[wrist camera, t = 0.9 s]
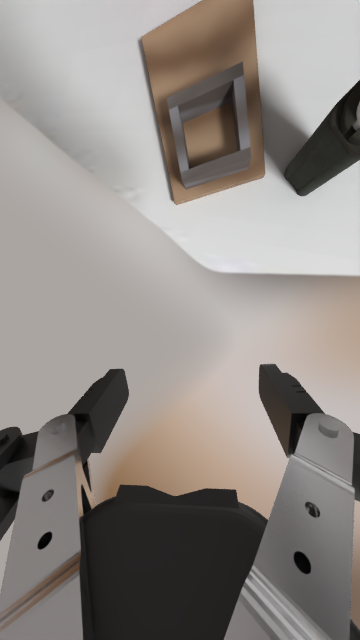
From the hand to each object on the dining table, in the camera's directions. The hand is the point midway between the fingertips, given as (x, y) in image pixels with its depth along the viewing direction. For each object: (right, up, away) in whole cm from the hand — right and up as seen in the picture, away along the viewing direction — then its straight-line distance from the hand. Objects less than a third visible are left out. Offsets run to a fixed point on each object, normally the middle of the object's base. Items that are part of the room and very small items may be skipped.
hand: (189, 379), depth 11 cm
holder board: (+3, +34, +16) cm, 38 cm away
